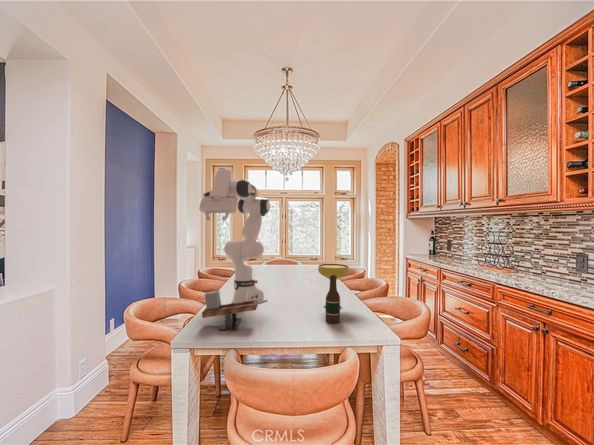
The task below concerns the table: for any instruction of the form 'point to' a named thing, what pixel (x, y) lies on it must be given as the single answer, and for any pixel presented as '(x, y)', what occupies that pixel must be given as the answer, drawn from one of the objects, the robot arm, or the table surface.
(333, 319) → the beer bottle
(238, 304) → the balance beam
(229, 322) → the pivot stand
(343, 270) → the cocktail glass
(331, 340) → the table surface
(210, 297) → the block
